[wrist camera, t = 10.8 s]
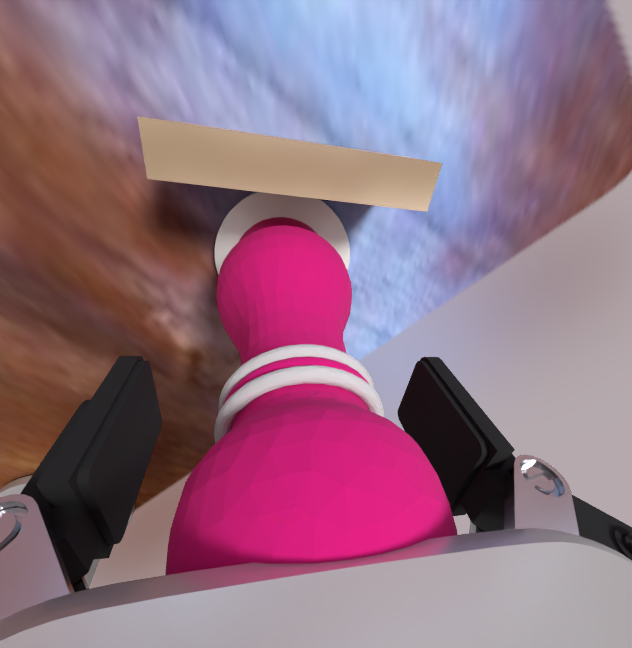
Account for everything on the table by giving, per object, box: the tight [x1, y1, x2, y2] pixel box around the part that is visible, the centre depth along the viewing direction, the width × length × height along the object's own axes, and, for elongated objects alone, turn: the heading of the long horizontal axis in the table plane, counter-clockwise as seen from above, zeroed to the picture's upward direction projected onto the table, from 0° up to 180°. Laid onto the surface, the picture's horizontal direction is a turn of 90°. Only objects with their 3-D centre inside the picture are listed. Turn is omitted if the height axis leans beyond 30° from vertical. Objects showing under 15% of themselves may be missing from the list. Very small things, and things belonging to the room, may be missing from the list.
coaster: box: [215, 192, 350, 275], centre depth 20 cm, size 9×9×1 cm
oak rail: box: [138, 117, 442, 212], centre depth 14 cm, size 2×12×6 cm, turn 82°
